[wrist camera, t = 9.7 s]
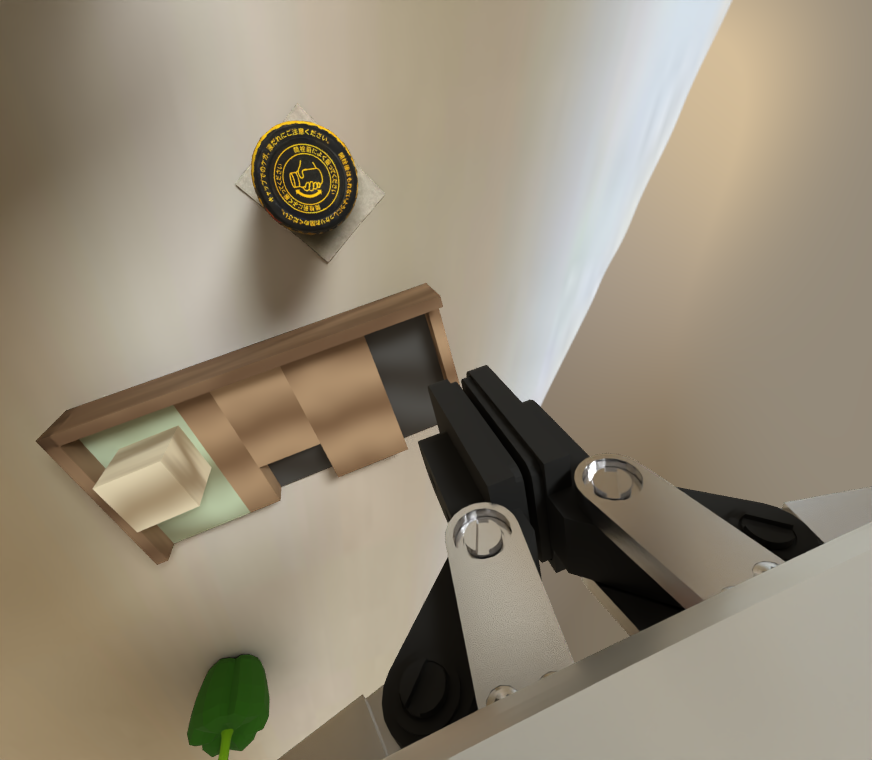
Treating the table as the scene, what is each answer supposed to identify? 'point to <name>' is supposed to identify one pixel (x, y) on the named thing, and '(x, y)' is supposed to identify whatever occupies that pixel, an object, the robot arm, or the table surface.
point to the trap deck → (273, 411)
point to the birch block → (154, 479)
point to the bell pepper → (230, 706)
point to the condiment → (310, 183)
